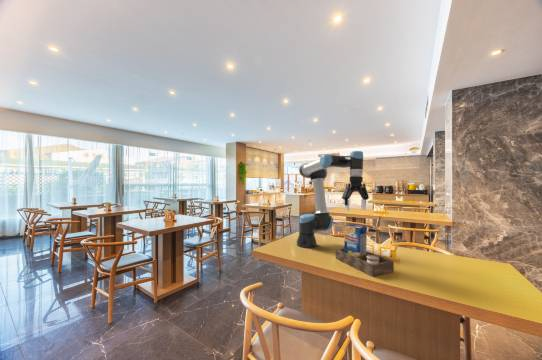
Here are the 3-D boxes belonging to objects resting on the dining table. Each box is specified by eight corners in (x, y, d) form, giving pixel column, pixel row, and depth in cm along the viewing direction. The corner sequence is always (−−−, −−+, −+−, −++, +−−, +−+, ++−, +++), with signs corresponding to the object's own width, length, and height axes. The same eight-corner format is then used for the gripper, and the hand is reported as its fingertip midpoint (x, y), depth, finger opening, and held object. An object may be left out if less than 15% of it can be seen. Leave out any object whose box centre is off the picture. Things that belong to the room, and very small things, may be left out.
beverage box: (359, 265, 128) (360, 228, 128) (343, 259, 137) (344, 224, 137) (366, 263, 132) (366, 227, 132) (350, 257, 141) (351, 223, 141)
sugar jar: (363, 268, 124) (363, 255, 124) (371, 266, 127) (372, 254, 127) (373, 272, 118) (373, 259, 118) (381, 270, 121) (381, 258, 121)
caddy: (335, 258, 139) (336, 249, 139) (354, 255, 145) (354, 246, 145) (372, 276, 113) (373, 265, 113) (393, 272, 120) (393, 261, 120)
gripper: (345, 175, 127) (344, 211, 127) (375, 176, 137) (374, 210, 137) (336, 175, 133) (335, 210, 133) (365, 176, 144) (365, 208, 144)
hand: (355, 210), depth 135 cm, fingers open, 13 cm apart
